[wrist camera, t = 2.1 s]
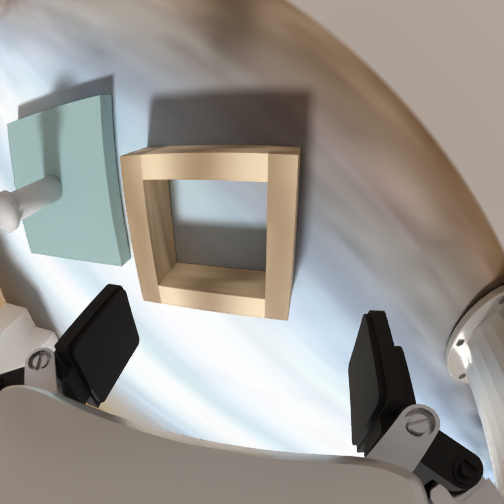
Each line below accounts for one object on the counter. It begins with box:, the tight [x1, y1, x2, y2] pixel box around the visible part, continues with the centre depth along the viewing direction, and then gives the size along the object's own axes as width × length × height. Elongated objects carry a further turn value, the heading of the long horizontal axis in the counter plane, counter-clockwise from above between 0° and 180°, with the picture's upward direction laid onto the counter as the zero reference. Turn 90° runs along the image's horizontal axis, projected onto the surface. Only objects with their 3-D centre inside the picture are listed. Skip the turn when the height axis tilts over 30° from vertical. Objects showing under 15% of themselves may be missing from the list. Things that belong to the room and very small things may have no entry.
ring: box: [120, 145, 301, 320], centre depth 20 cm, size 11×11×4 cm
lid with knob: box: [0, 94, 131, 266], centre depth 20 cm, size 13×14×8 cm
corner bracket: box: [0, 303, 58, 374], centre depth 31 cm, size 11×11×12 cm
